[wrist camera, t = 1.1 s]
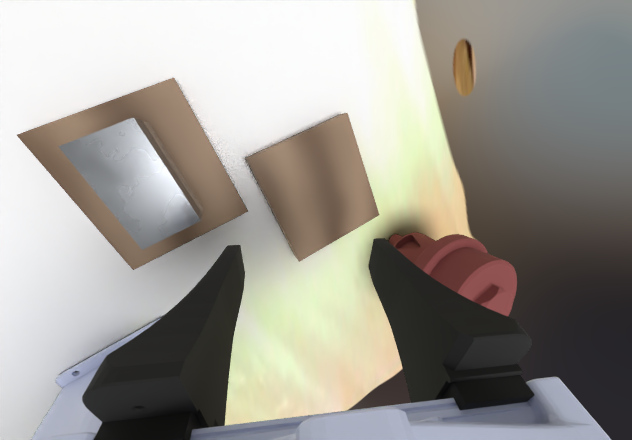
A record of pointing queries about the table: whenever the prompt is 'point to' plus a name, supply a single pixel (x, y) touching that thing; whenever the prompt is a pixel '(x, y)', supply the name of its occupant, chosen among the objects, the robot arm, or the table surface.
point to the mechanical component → (462, 268)
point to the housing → (136, 180)
